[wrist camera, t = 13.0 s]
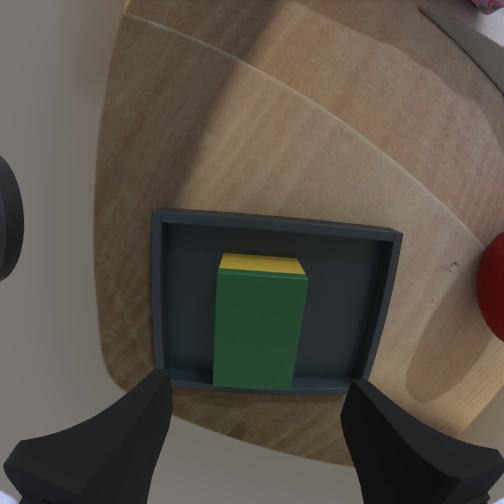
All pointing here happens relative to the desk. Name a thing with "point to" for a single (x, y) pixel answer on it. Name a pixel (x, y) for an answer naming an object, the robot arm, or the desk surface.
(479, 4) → the pencil case
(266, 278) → the sponge
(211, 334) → the tray
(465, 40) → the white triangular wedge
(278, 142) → the desk surface
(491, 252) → the apple
